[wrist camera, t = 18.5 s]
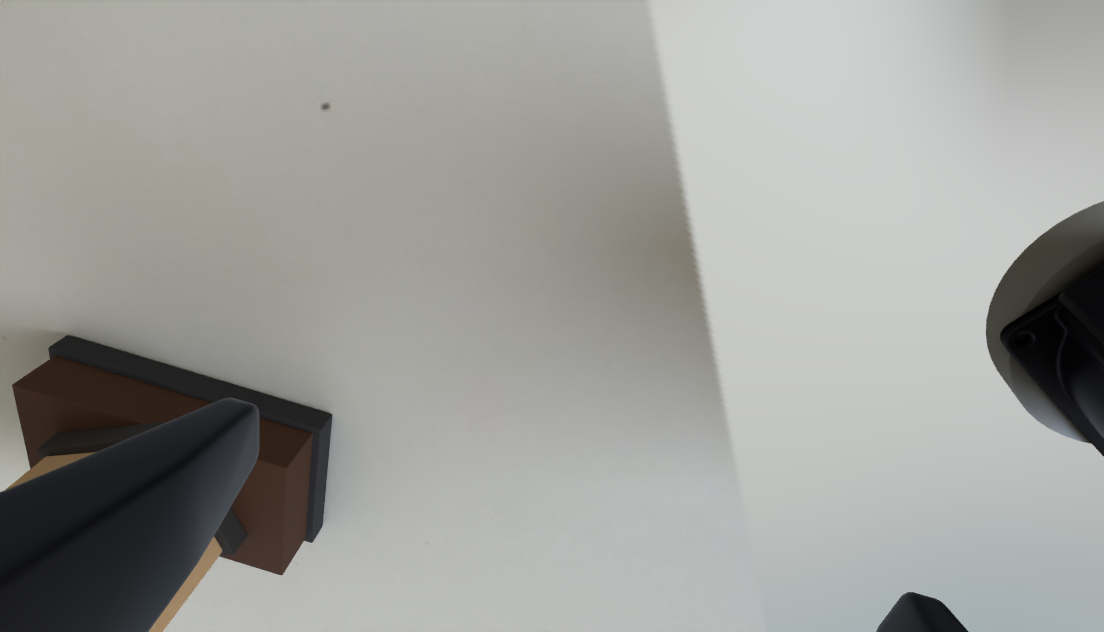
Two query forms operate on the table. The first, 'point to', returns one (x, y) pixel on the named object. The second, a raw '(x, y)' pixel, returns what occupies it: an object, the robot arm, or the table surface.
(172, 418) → the brown slab
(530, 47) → the table surface
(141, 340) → the table surface
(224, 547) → the tan block on base
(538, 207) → the table surface
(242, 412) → the robot arm
